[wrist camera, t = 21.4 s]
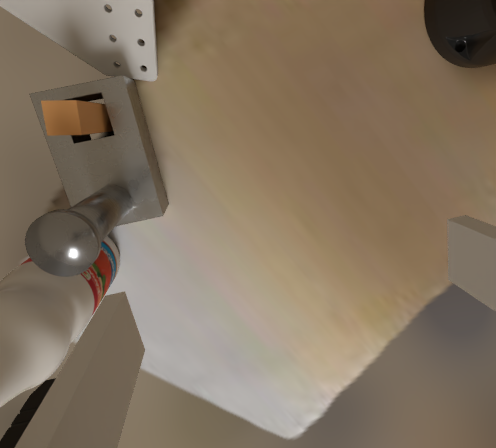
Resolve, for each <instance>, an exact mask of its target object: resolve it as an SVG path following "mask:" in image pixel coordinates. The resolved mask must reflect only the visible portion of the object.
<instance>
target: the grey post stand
mask: <svg viewBox="0 0 496 448" xmlns="http://www.w3.org/2000/svg"><path fill="white" fill-rule="evenodd" d="M30 97H31V100H32V103H33V105H34V108H35V111H36V113H37V116H38V119H39V121H40V124H41V127H42V130H43V132H44V135H45V138H46V140H47V143H48V146H49V148H50V151H51V154H52V157H53V159H54V162H55V165H56V168H57V170H58V173H59V176H60V178H61V181H62V184H63V187H64V189H65V192H66V195H67V197H68V200H69V203H70V206H71V208H69V209H68V210H65V209H62V210H54V211H51V212H48V213H46V214H44V215H43V216H41V217H39V218H38V219H36V220H35V221H34V222H33V223H32V224H31V225H30V227H29V228H28V231H27V233H26V238H25V245H26V250H27V253H28V255H29V257H30V258H31V260H32V261H33V262H34V263H35V264H36V265H37V266H38V267H39V268H40V269H42V270H43V271H45V272H47V273H49V274H52V275H55V276H61V277H70V276H75V275H78V274H81V273H83V272H84V271H86V270H87V269H88V268H89V267H90V266H91V265H92V264H93V263H94V262H95V260H96V259H97V258H98V256H99V254H100V251H101V242H102V241H103V240H104V239H105V238H106V236H107V235H108V234H109V233H110V232H111V231H112V230H113V229H114V227H115V226H119V225H123V224H128V223H133V222H137V221H142V220H147V219H151V218H156V217H160V216H163V215H164V213H165V211H166V209H167V207H168V205H169V203H168V200H167V196H166V192H165V189H164V185H163V181H162V178H161V174H160V171H159V167H158V163H157V160H156V156H155V153H154V149H153V145H152V142H151V138H150V134H149V131H148V127H147V124H146V120H145V116H144V113H143V109H142V105H141V102H140V98H139V95H138V91H137V87H136V84H135V81H133V80H131V79H129V78H127V77H125V76H123V75H122V76H117V77H112V78H107V79H102V80H97V81H92V82H87V83H82V84H77V85H72V86H67V87H62V88H57V89H51V90H46V91H41V92H37V93H31V94H30ZM97 99H104V102H105V105H106V108H107V112H108V115H109V118H110V121H111V125H112V128H113V131H114V134H115V135H114V136H109V137H104V138H99V139H95V140H91V137H90V134H85V135H55V136H47V131H46V126H45V120H44V115H43V109H42V104H41V101H55V100H78V101H85V102H88V101H92V100H97Z"/></svg>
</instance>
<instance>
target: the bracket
mask: <svg viewBox="0 0 496 448" xmlns="http://www.w3.org/2000/svg"><path fill="white" fill-rule="evenodd" d="M106 4H108V5H110V6H111V8H112V10H110V9H108V8H107V7H106ZM0 6H1V7H2V8H4V9H5V10H7V11H8V12H10V13H11V14H13V15H14V16H16V17H17V18H19V19H20V20H22V21H23V22H25V23H26V24H28V25H30V26H31V27H33V28H34V29H36V30H37V31H39V32H40V33H42V34H43V35H45V36H46V37H48V38H50V39H51V40H52V41H54V42H56V43H57V44H59V45H60V46H62V47H63V48H65V49H67V50H68V51H69V52H71V53H73V54H74V55H75V56H77V57H79V58H80V59H82V60H83V61H85V62H86V63H88V64H89V65H91V66H92V67H94V68H95V69H97V70H99V71H100V72H102V73H103V74H105V75H108V76H115V77H117V76H122V75H123V76H125V77H127V78H130V79H138V80H145V81H155V80H156V79H157V76H158V64H157V47H156V31H155V14H154V0H0ZM136 9H139V10H140V11H141V12H142V14H138V13H137V12H136ZM111 35H114V36H115V37H116V39H113V38H112V37H111ZM139 39H142V40H143V41H144V42H145V43H141V42H140V41H139ZM115 62H119V63H120V65H118V64H116V63H115ZM142 65H144V66H146V67H147V68H143V67H142Z"/></svg>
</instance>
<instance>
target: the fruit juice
mask: <svg viewBox="0 0 496 448" xmlns="http://www.w3.org/2000/svg"><path fill="white" fill-rule="evenodd" d="M119 266H120V256H119V252H118V249H117V247H116V245H115V244H114V242H113V241H112V240H111V239H110V238H109V237H108V236H106V238H105V239H104V240H103V241H102V242H101V251H100V254H99V256H98V258H97V259H96V260H95V262H94V263H93V264H92V265H91V266H90V267H89V268H88V269H87V270H86V271H84V272H83V273H81V274H78V275H75V276H70V277H61V276H55V275H52V274H49V273H47V272H45V271H43V270H42V269H40V268H39V267H38V266H37V265H36V264H35V263H34V262H33V261H32V260H31V258H29V259H27V260H26V261H25V262H23V263H22V264H21V265H19V266H18V267H17V268H15V269H14V270H12V271H11V272H10V273H9V274H8V275H6V276H5V277H4V278H3V279H2V280H1V281H0V407H1V406H3V405H4V404H5V403H7V402H8V401H9V400H11V399H12V398H14V397H15V396H17V395H19V394H20V393H22V392H23V391H26V390H28V389H31V388H33V387H35V386H37V385H39V384H40V383H42V382H44V381H45V380H46V379H47V378H49V377H50V376H51V375H52V374H53V373H54V372H55V371H56V370H57V368H58V367H59V366H60V364H61V363H62V361H63V360H64V358H65V356H66V354H67V352H68V349H69V345H70V343H71V342H73V341H74V340H75V339H76V338H77V337H78V336H79V334H80V333H81V332H82V331H83V329H84V328H85V326H86V325H87V324H88V322H89V320H90V318H91V317H92V315H93V313H94V312H95V310H96V308H97V307H98V305H99V303H100V302H101V300H102V298H103V297H104V295H105V293H106V292H107V290H108V289H109V287H110V285H111V284H112V282H113V280H114V279H115V277H116V275H117V273H118V270H119Z"/></svg>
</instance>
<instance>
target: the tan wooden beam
mask: <svg viewBox="0 0 496 448" xmlns="http://www.w3.org/2000/svg"><path fill="white" fill-rule="evenodd" d="M41 104H42V109H43V115H44V120H45V126H46V131H47V136H55V135H85V134H93V133H102V132H110V131H113V128H112V125H111V121H110V118H109V115H108V112H107V108H106V105H105V104H99V103H92V102H85V101H78V100H55V101H41Z"/></svg>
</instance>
